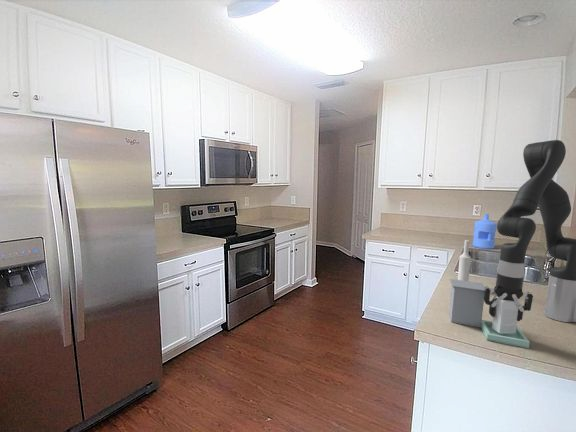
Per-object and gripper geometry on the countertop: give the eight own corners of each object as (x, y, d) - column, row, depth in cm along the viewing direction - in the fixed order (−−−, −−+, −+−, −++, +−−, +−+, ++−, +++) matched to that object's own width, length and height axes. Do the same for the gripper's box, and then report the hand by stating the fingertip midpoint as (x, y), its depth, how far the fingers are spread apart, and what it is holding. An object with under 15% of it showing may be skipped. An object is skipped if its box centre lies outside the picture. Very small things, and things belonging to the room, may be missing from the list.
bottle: (462, 289, 154) (467, 241, 151) (454, 286, 159) (458, 239, 156) (470, 289, 156) (475, 241, 152) (462, 285, 161) (467, 239, 157)
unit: (478, 318, 123) (482, 283, 121) (483, 328, 114) (487, 290, 112) (447, 312, 127) (450, 278, 125) (449, 322, 118) (453, 286, 117)
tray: (517, 331, 113) (518, 326, 112) (528, 348, 101) (529, 342, 101) (479, 325, 117) (480, 319, 117) (486, 340, 106) (487, 334, 106)
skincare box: (506, 328, 111) (510, 296, 110) (515, 334, 107) (520, 301, 105) (490, 327, 111) (494, 296, 109) (499, 333, 107) (503, 301, 105)
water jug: (468, 244, 264) (471, 213, 261) (485, 245, 265) (489, 213, 262) (480, 249, 249) (484, 215, 245) (498, 249, 250) (502, 215, 246)
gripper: (488, 273, 105) (483, 318, 108) (539, 279, 100) (533, 327, 102) (484, 267, 112) (479, 310, 115) (531, 273, 107) (525, 317, 109)
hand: (504, 318), depth 108 cm, fingers closed on skincare box, 7 cm apart
